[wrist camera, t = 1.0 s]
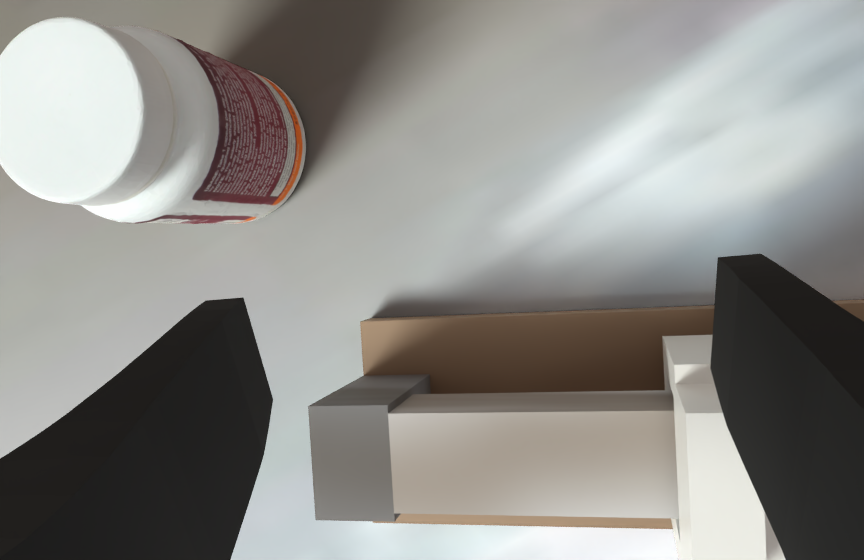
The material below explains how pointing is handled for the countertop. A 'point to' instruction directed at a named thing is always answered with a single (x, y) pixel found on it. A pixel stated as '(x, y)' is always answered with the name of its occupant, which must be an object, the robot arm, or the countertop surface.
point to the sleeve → (710, 466)
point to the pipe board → (539, 365)
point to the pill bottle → (144, 126)
